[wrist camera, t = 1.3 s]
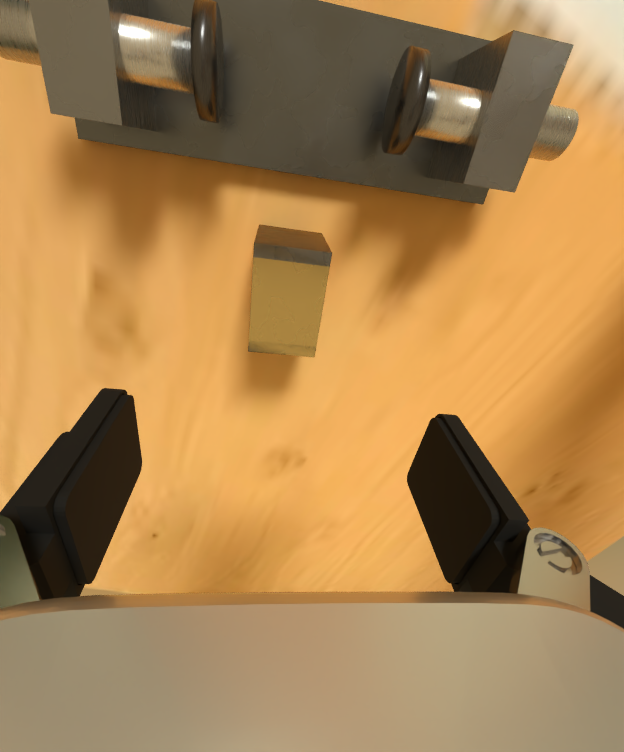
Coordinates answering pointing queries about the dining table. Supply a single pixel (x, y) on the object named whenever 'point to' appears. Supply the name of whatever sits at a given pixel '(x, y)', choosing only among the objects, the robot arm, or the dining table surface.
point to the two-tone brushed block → (287, 290)
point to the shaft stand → (300, 89)
